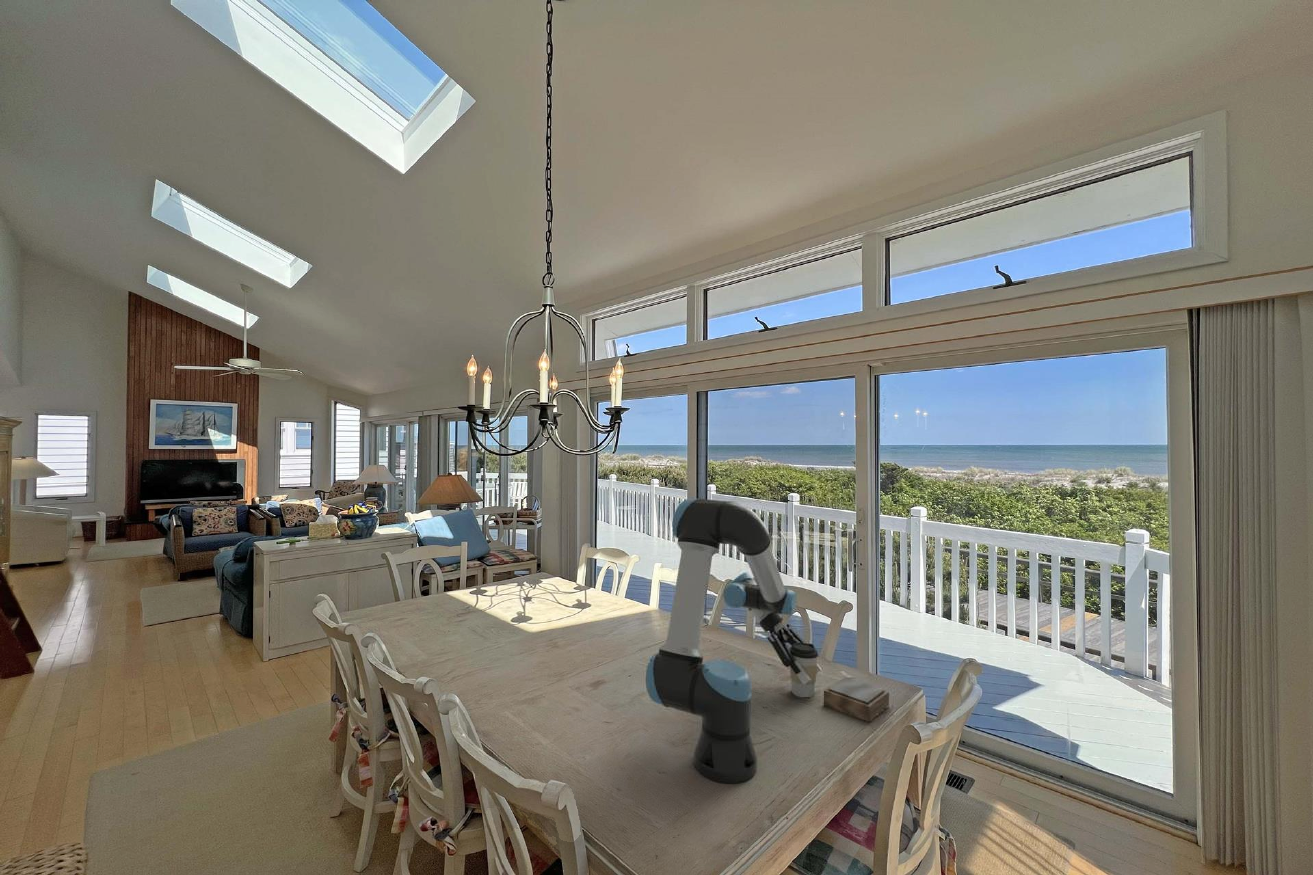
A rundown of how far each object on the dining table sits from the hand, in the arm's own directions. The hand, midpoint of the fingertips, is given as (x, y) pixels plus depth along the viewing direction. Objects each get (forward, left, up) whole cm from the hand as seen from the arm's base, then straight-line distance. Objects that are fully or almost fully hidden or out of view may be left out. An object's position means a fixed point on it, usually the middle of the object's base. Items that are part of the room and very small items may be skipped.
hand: (812, 676), depth 168 cm
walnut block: (-6, -11, -6) cm, 14 cm away
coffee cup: (+2, +3, -6) cm, 7 cm away
